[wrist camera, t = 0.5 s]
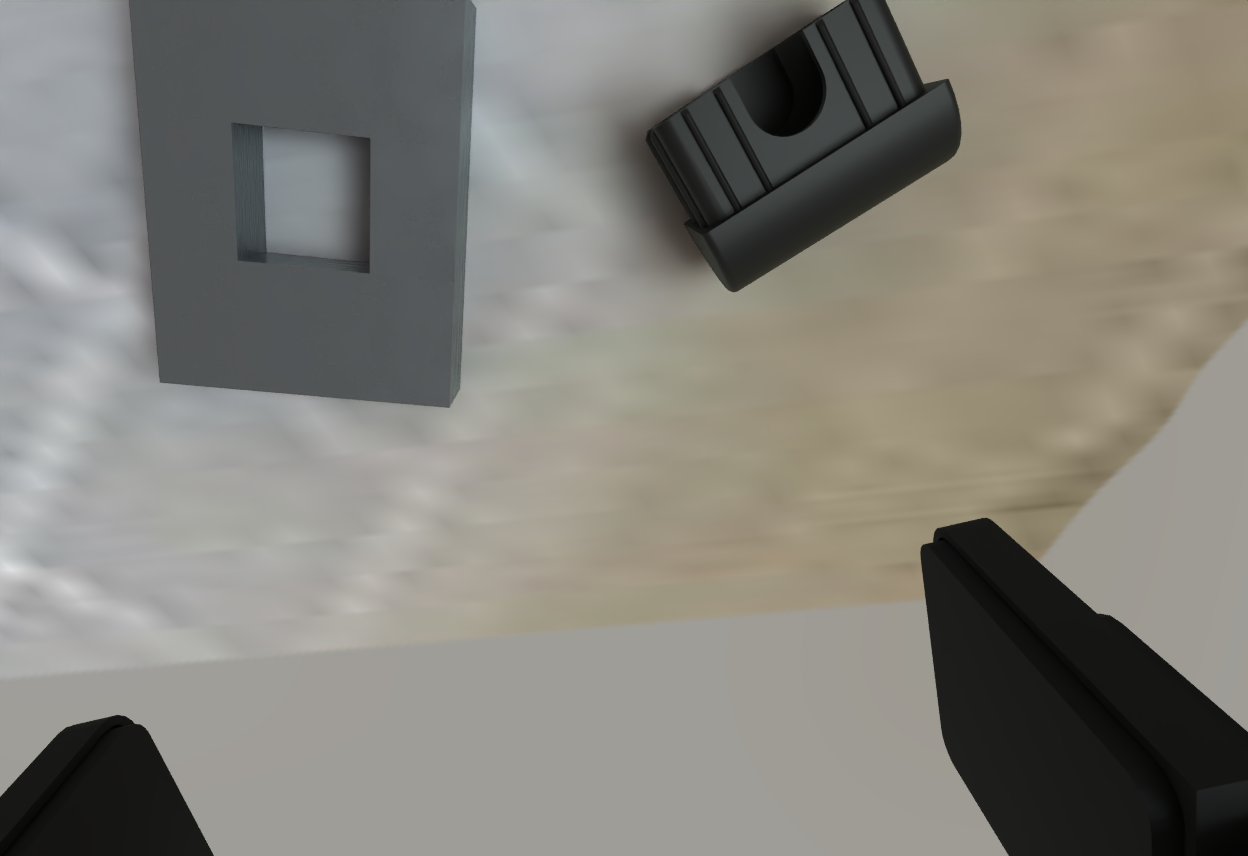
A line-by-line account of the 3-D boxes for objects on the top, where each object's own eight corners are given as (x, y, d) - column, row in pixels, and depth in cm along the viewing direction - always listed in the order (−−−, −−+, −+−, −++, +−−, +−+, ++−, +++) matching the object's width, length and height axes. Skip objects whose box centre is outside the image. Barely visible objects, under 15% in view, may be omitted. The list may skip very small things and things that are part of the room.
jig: (167, -31, 31) (125, -51, 28) (476, 8, 32) (465, -7, 29) (193, 365, 36) (159, 382, 33) (459, 388, 37) (449, 407, 34)
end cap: (715, 280, 36) (743, 307, 30) (633, 140, 34) (644, 134, 27) (912, 158, 35) (986, 157, 28) (839, 3, 33) (901, -36, 26)
